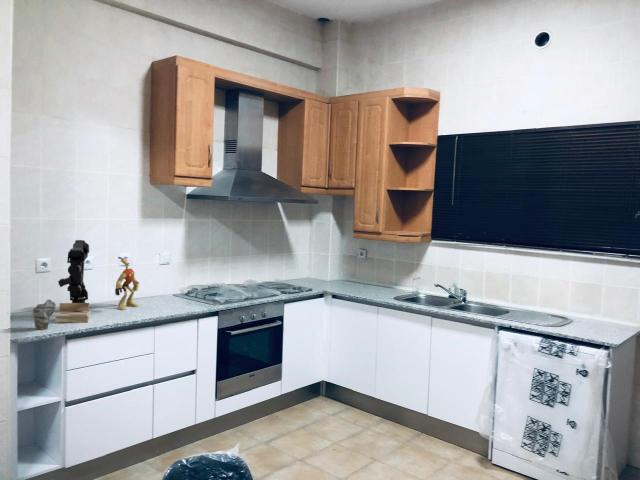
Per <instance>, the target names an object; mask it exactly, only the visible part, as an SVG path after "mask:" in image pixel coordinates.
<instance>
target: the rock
mask: <svg viewBox="0 0 640 480" xmlns="http://www.w3.org/2000/svg"><path fill="white" fill-rule="evenodd" d="M56 305H57V304H56V302H53V300H52V299H47V300H46V301H45V302H44V303H39V304H37V305H36V306H35V307H33V309H32V316H33V320H34V327H35V329H36V330H45V329H48V327H49V324H50V319H51V316H52V315H53V314H54V312H55V309H56Z"/></svg>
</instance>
